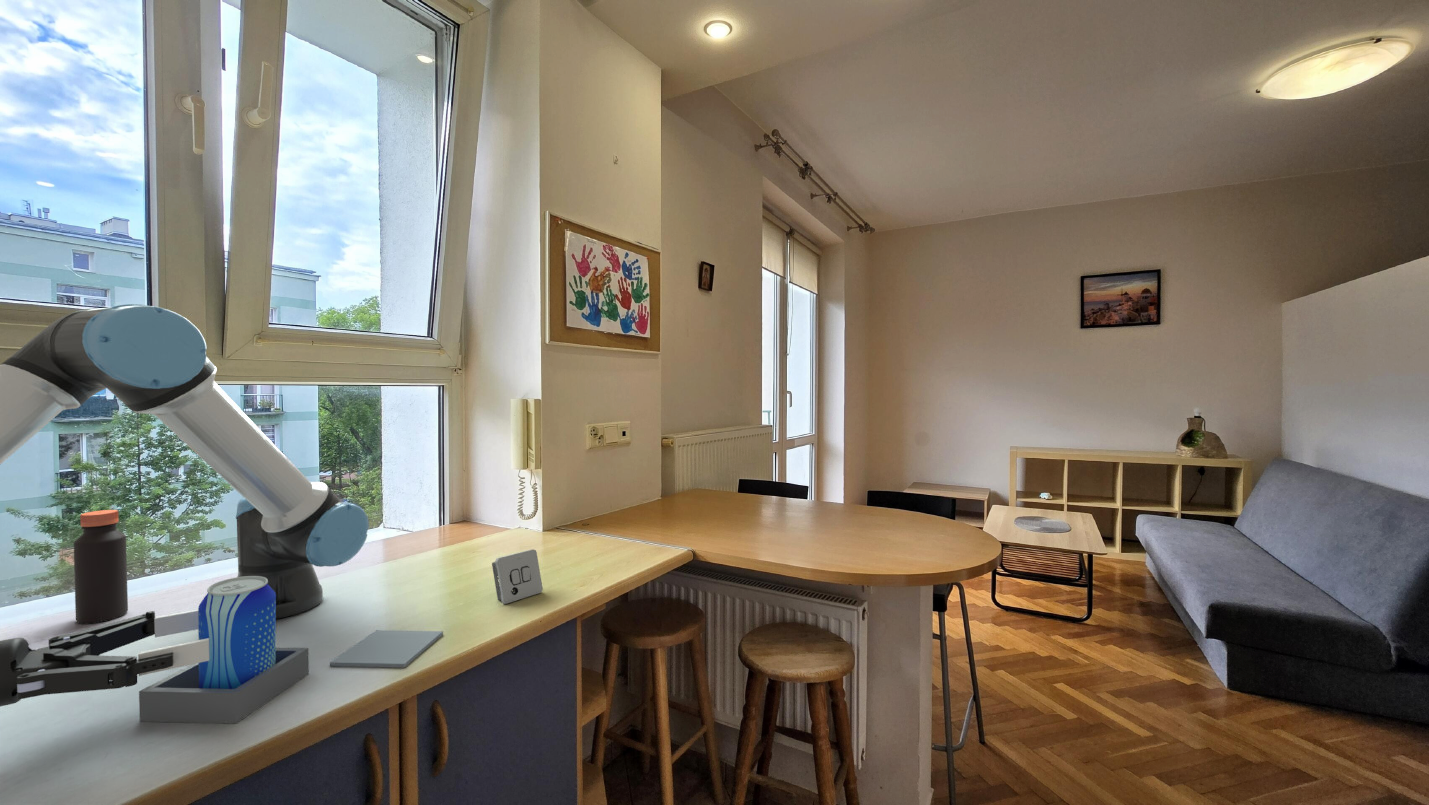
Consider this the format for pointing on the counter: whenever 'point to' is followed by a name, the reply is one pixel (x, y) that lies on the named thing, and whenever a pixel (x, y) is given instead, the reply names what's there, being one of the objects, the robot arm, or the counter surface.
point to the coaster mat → (387, 649)
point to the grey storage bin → (220, 692)
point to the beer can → (237, 631)
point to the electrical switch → (517, 576)
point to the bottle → (100, 568)
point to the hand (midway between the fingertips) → (213, 631)
